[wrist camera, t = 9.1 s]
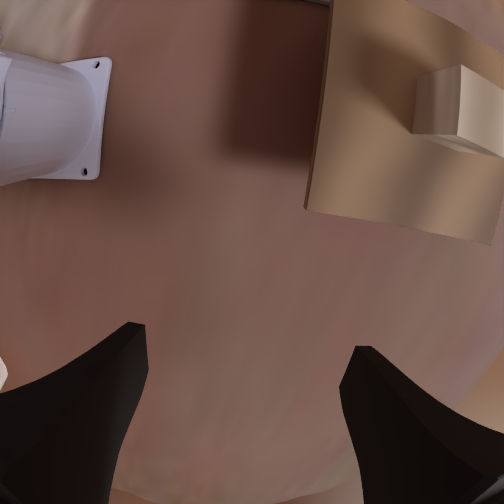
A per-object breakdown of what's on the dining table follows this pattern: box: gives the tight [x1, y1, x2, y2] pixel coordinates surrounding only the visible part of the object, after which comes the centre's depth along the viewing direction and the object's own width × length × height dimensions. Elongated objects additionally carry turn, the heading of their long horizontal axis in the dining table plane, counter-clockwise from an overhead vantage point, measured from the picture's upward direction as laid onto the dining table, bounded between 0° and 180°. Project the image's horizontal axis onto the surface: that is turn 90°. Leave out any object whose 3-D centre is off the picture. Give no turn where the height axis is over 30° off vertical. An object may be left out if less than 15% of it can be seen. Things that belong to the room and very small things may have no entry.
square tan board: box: [304, 0, 504, 245], centre depth 10 cm, size 12×12×4 cm
